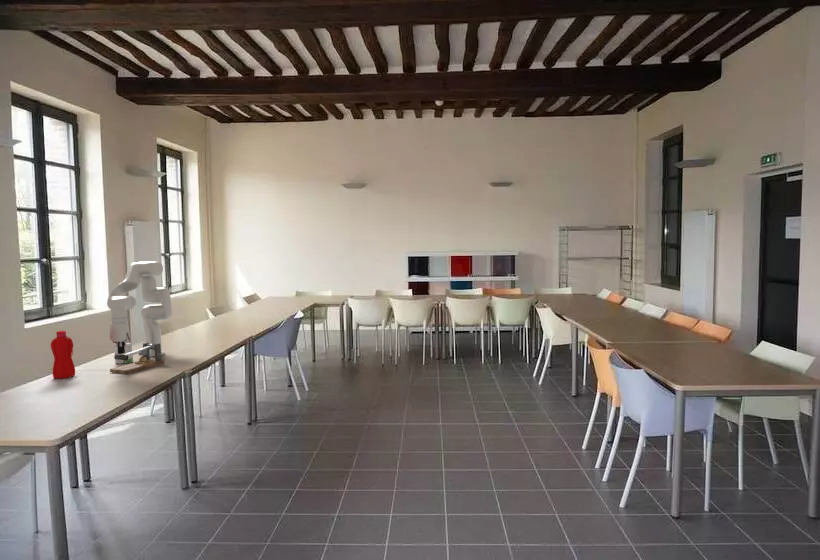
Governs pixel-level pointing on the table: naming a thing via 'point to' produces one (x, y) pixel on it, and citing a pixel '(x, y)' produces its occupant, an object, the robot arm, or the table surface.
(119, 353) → the robot arm
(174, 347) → the table surface
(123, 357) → the lever
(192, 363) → the table surface
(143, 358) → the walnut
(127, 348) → the ink box
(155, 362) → the brown board with cylinder
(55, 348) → the red bottle
